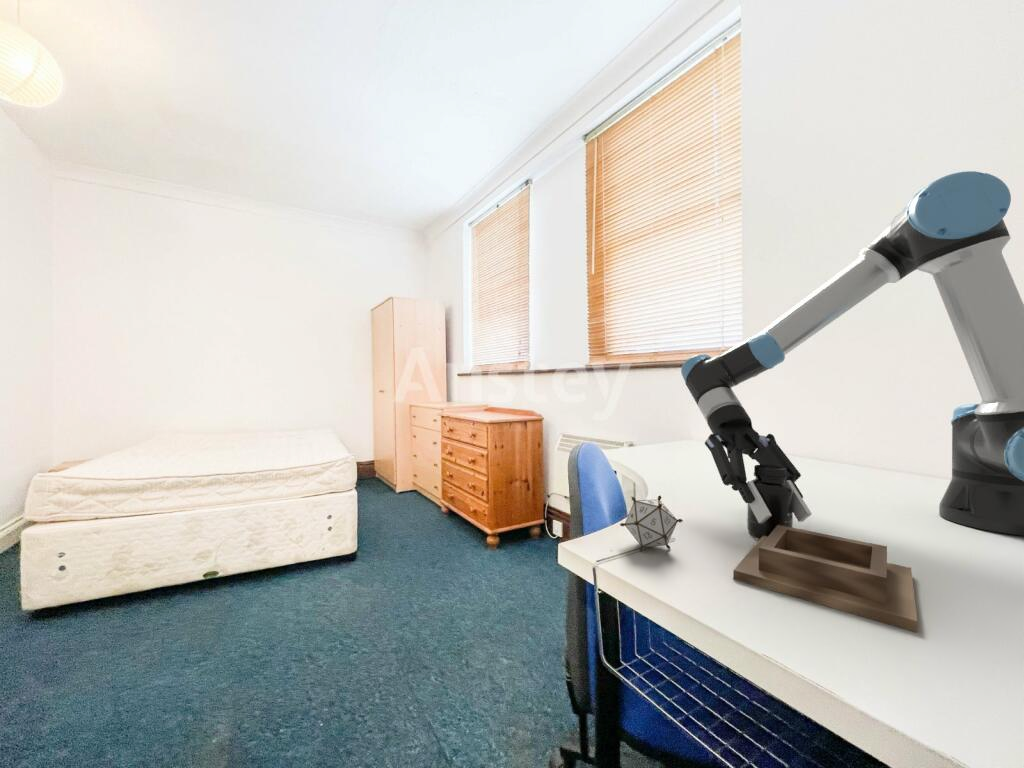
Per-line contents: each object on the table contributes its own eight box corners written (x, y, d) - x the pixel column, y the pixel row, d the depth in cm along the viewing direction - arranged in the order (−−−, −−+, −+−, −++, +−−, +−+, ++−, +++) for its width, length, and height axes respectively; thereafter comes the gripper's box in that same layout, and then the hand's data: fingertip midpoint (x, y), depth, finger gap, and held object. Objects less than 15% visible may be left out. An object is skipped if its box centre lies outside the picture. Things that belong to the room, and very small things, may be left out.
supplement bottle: (800, 543, 70) (800, 471, 70) (755, 540, 72) (755, 469, 72) (782, 529, 77) (782, 464, 77) (741, 526, 78) (742, 462, 78)
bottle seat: (910, 576, 58) (911, 546, 58) (917, 632, 45) (917, 593, 45) (762, 542, 71) (763, 517, 71) (733, 578, 57) (733, 547, 57)
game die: (638, 570, 68) (600, 517, 70) (663, 540, 73) (627, 491, 75) (678, 561, 61) (635, 502, 63) (703, 528, 66) (663, 474, 68)
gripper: (758, 426, 91) (823, 526, 75) (672, 426, 88) (721, 531, 72) (777, 402, 86) (851, 505, 69) (687, 402, 83) (742, 509, 67)
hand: (785, 518), depth 71 cm, fingers closed on supplement bottle, 7 cm apart
